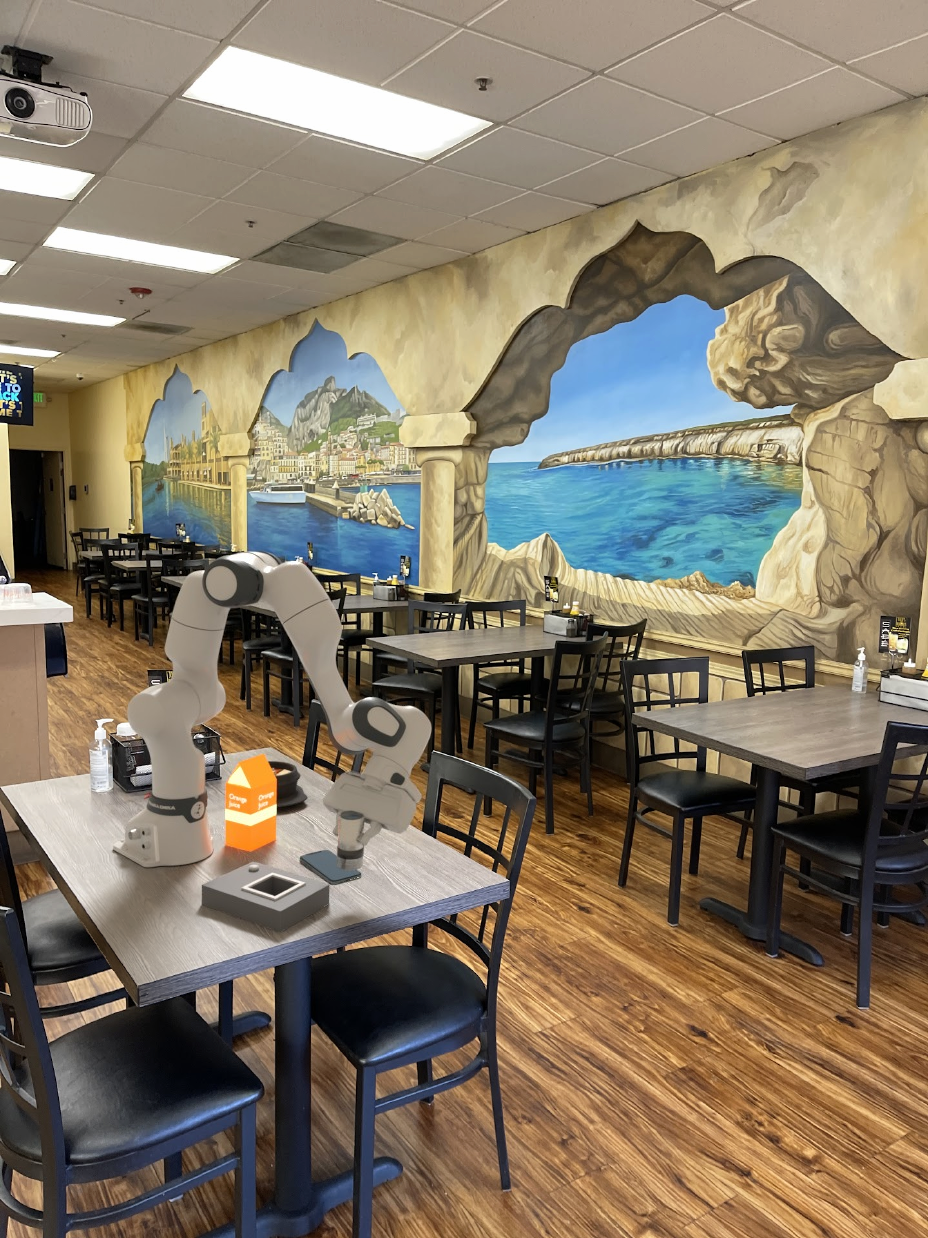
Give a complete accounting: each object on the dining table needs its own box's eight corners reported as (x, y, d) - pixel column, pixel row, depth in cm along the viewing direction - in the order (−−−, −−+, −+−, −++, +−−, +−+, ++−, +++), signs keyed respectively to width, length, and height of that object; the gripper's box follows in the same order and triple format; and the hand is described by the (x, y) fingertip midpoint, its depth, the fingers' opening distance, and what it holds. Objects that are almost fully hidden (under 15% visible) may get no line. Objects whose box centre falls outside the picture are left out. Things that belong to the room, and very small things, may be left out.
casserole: (212, 794, 232) (212, 764, 231) (272, 781, 245) (272, 752, 244) (262, 819, 214) (262, 786, 213) (324, 804, 227) (324, 773, 226)
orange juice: (224, 844, 197) (224, 759, 194) (251, 833, 205) (251, 751, 202) (251, 852, 193) (251, 765, 191) (276, 839, 201) (277, 756, 199)
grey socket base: (201, 904, 166) (201, 882, 166) (253, 879, 179) (253, 858, 178) (280, 932, 157) (280, 908, 156) (329, 904, 169) (329, 881, 168)
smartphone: (332, 881, 177) (297, 855, 189) (332, 889, 178) (297, 863, 189) (363, 873, 182) (328, 848, 194) (363, 880, 182) (327, 855, 194)
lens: (331, 866, 168) (332, 815, 167) (347, 857, 173) (349, 808, 171) (352, 872, 166) (354, 821, 164) (368, 864, 170) (370, 813, 169)
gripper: (338, 760, 178) (302, 818, 172) (415, 782, 167) (381, 845, 160) (352, 777, 183) (317, 834, 176) (428, 798, 171) (395, 860, 164)
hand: (348, 839), depth 168 cm, fingers closed on lens, 5 cm apart
